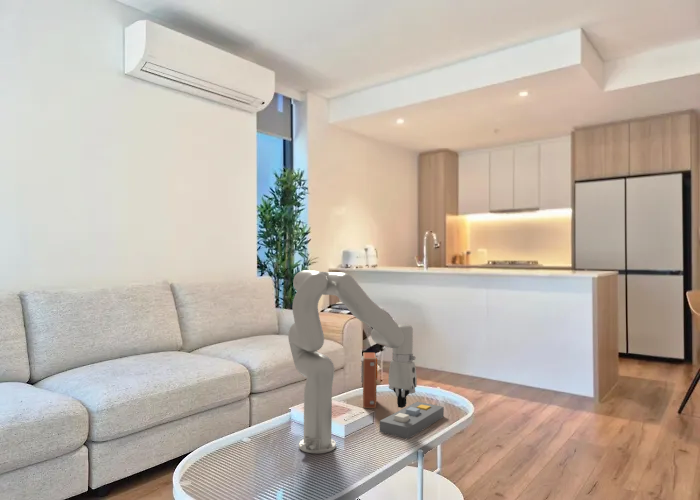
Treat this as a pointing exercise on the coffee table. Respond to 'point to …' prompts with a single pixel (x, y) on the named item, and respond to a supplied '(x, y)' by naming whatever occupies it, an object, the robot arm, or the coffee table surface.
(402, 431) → the button strip
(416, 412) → the slate button
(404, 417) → the white button
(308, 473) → the coffee table surface
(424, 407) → the amber button
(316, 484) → the coffee table surface
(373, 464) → the coffee table surface
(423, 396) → the coffee table surface
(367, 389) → the terracotta rectangular block
